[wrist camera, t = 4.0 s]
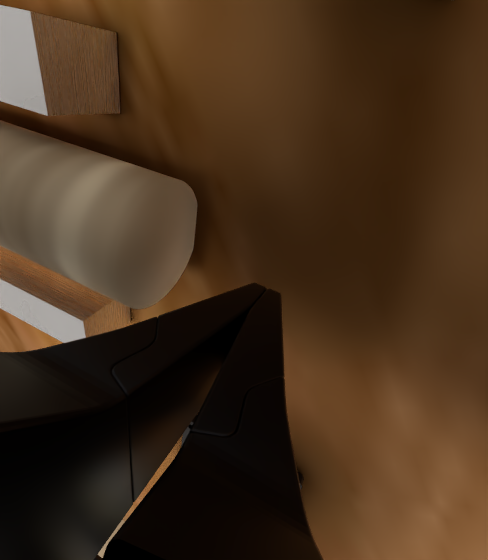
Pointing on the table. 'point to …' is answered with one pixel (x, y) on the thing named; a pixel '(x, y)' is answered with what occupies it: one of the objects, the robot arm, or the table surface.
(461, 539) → the table surface
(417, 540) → the table surface
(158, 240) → the maple axle
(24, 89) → the steel guide
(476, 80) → the table surface
